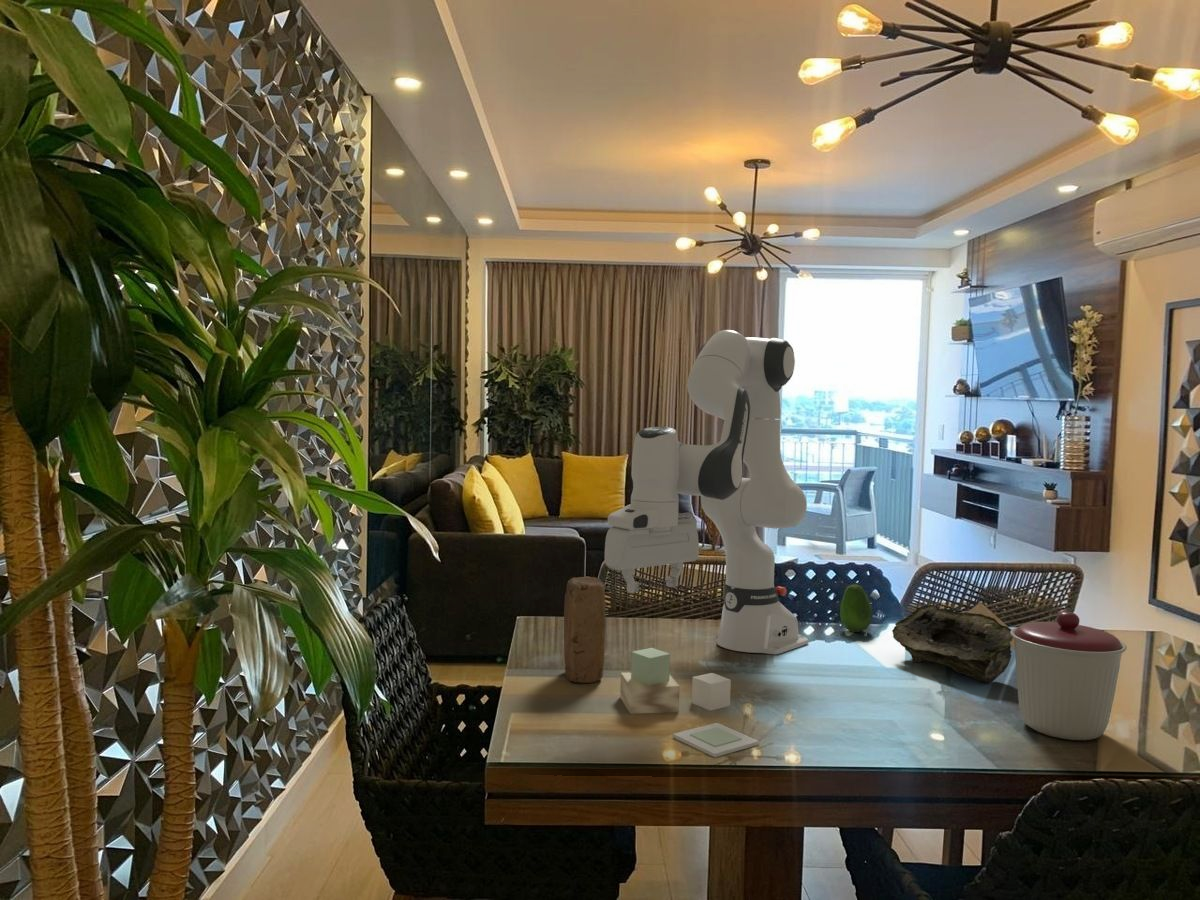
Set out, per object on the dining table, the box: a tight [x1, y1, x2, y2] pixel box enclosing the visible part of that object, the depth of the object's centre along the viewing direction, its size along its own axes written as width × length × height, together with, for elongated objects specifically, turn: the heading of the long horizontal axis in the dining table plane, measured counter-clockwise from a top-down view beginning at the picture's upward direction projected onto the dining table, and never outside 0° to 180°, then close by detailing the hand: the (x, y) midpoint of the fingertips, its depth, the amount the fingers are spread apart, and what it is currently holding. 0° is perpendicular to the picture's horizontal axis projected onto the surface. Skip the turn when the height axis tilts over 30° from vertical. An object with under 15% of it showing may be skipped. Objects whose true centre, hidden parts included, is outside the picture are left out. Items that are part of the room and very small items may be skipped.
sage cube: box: [630, 647, 671, 685], centre depth 164 cm, size 5×5×5 cm
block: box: [563, 576, 606, 684], centre depth 180 cm, size 11×8×20 cm
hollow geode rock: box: [891, 604, 1013, 685], centre depth 192 cm, size 28×13×15 cm
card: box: [672, 722, 760, 758], centre depth 148 cm, size 10×10×1 cm
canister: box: [1010, 611, 1128, 741], centre depth 157 cm, size 18×18×21 cm
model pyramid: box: [966, 601, 1015, 650], centre depth 218 cm, size 17×17×10 cm
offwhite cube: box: [691, 672, 732, 711], centre depth 166 cm, size 5×5×5 cm
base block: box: [619, 671, 681, 715], centre depth 165 cm, size 9×9×5 cm
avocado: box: [839, 583, 873, 633], centre depth 223 cm, size 8×8×12 cm
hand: (652, 589), depth 165 cm, fingers open, 8 cm apart
